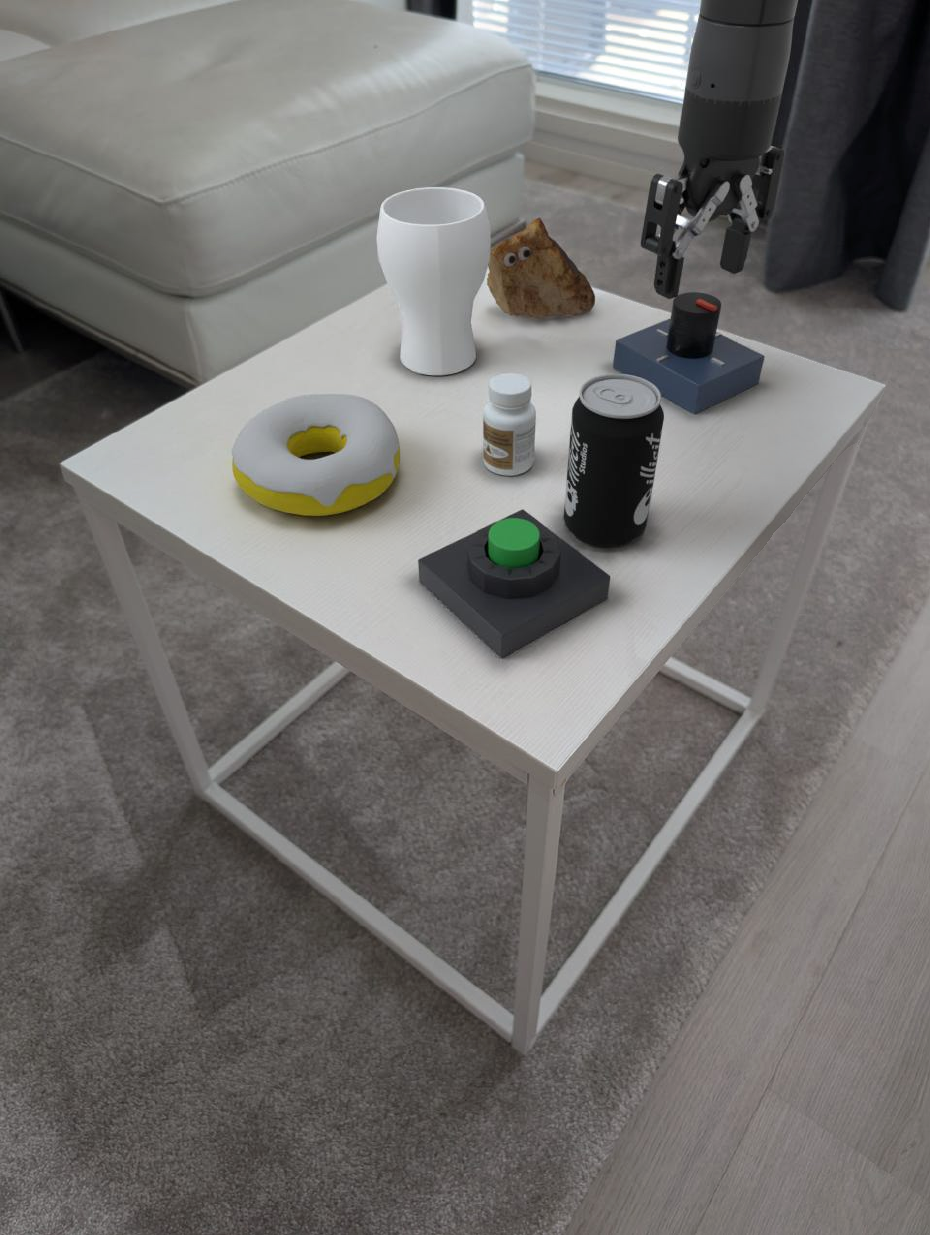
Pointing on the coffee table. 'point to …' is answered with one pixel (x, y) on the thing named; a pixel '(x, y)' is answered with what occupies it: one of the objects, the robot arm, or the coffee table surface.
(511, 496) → the coffee table surface
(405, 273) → the cup
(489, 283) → the decorative rock
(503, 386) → the pill bottle
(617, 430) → the beverage can
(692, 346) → the program dial
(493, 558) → the button
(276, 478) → the donut
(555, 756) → the coffee table surface
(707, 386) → the control panel
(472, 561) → the button block
